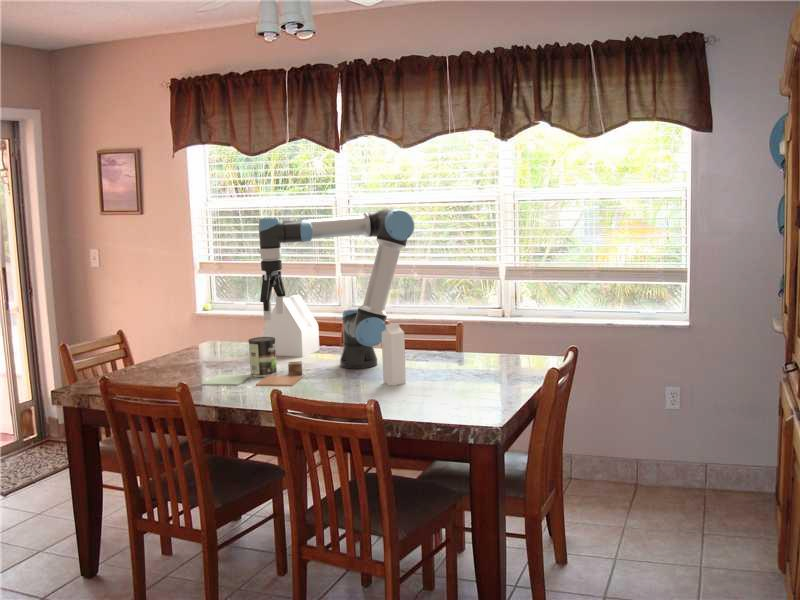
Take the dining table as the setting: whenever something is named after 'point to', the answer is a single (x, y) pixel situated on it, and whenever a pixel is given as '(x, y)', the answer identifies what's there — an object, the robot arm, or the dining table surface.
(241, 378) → the pad green
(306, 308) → the white house block
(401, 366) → the milk
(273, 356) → the coffee can
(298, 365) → the walnut block
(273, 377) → the pad terracotta
